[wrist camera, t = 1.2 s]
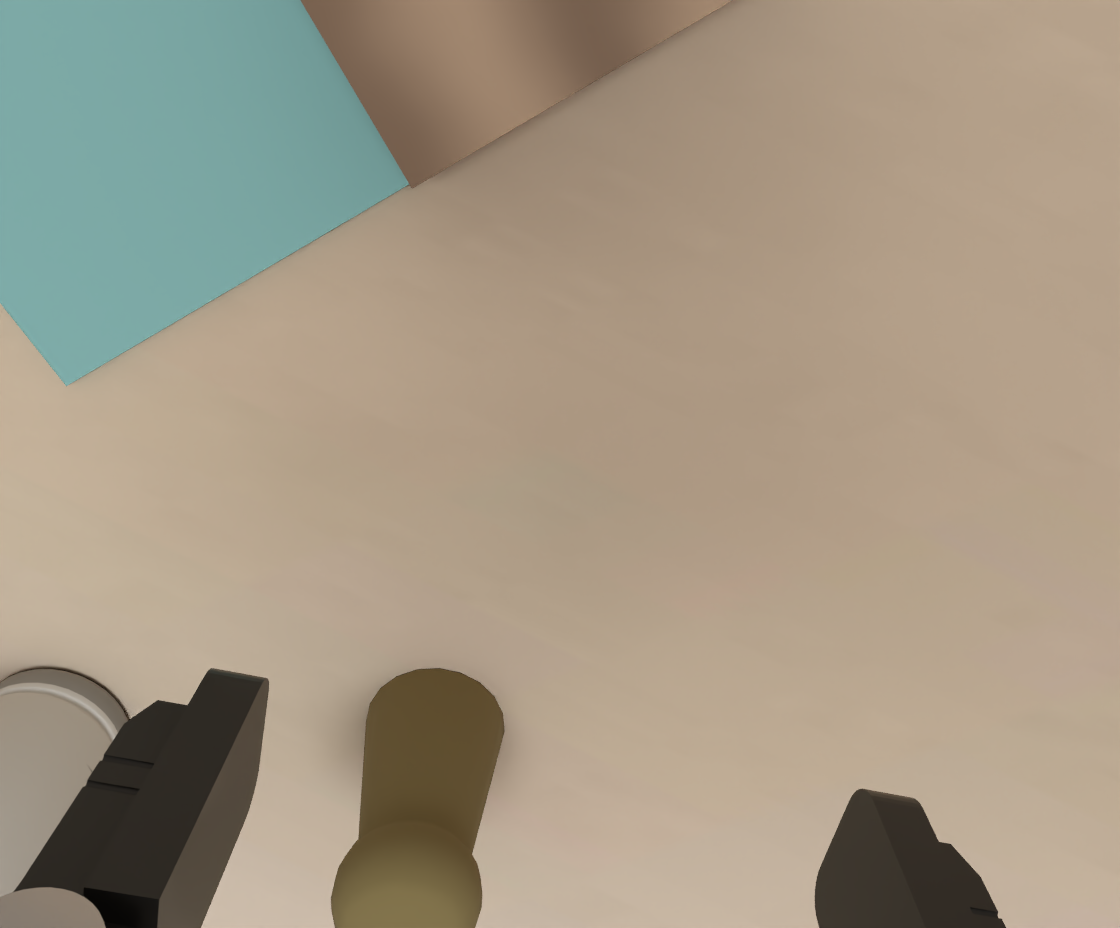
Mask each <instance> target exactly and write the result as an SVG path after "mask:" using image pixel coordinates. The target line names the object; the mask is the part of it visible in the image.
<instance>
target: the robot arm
mask: <svg viewBox="0 0 1120 928" xmlns="http://www.w3.org/2000/svg"><path fill="white" fill-rule="evenodd" d="M268 691H269V681H268V679H267V678H263V677H257V676H252V675H246V674H241V673H235V672H230V671H225V670H219V669H214V668H211V669H210V670H209V671H208V672H207V673H206V675H205V676H204V678H203V680H202V681H201V683H200V685H199V687H198V688H197V690H196V692H195V694H194V695H193V697H192V699H191V701H190V702H189V704H188V706H187V705H182V704H176V703H171V702H165V701H159V700H157V701H156V702H155V703H153V704H152V705H150V706H149V707H147V708H146V709H144V710H143V711H142V712H140V713H139V714H137V715H136V716H134V717H133V718H131V719H130V720H129V721H127V722H126V723H124V724H123V726H122V727H121V729H120V730H119V732H118V734H117V735H116V737H115V738H114V740H113V741H112V743H111V744H110V746H109V747H108V749H107V750H106V752H105V753H104V757H103V760H102V761H99V763H98V764H97V766H96V767H95V769H94V770H93V772H92V773H91V775H90V776H89V778H88V780H87V783H86V786H85V787H82V789H81V790H80V792H79V793H78V795H77V796H76V798H75V799H74V801H73V803H72V804H71V806H70V807H69V809H68V810H67V812H66V813H65V815H64V816H63V818H62V819H61V821H60V822H59V824H58V826H57V827H56V829H55V830H54V832H53V833H52V835H51V836H50V838H49V839H48V841H47V842H46V844H45V845H44V847H43V849H42V850H41V852H40V853H39V855H38V856H37V858H36V859H35V861H34V862H33V864H32V865H31V867H30V868H29V870H28V872H27V873H26V875H25V876H24V878H23V879H22V881H21V882H20V883H19V885H18V886H17V887H16V889H15V890H14V891H13V892H12V893H9V894H6V895H4V896H1V897H0V928H201V926H202V923H203V921H204V918H205V916H206V914H207V911H208V909H209V906H210V904H211V902H212V899H213V897H214V894H215V892H216V889H217V887H218V885H219V882H220V880H221V877H222V875H223V872H224V870H225V868H226V865H227V863H228V860H229V858H230V856H231V853H232V851H233V848H234V846H235V843H236V841H237V839H238V836H239V834H240V831H241V829H242V827H243V824H244V822H245V819H246V816H247V814H248V811H249V808H250V804H251V801H252V798H253V794H254V790H255V786H256V781H257V776H258V771H259V763H260V755H261V747H262V739H263V731H264V723H265V715H266V707H267V699H268ZM815 910H816V916H817V921H818V924H819V928H1006V927H1005V925H1004V923H1003V921H1002V919H999V918H998V916H997V914H998V911H997V909H996V907H995V905H994V903H993V901H992V899H991V897H990V895H989V893H988V891H987V889H986V887H985V885H984V883H983V881H982V879H981V877H980V876H979V875H978V874H977V873H976V872H975V870H974V869H973V868H972V867H971V866H970V865H969V864H968V863H967V862H966V860H965V859H964V858H963V857H962V856H961V855H960V854H959V853H958V852H957V851H956V849H955V848H954V847H953V846H952V845H951V844H947V843H942V842H939V841H938V839H937V837H936V835H935V833H934V831H933V829H932V827H931V825H930V822H929V820H928V818H927V816H926V814H925V812H924V810H923V808H922V806H921V804H920V803H919V802H918V801H917V800H916V799H914V798H910V797H905V796H899V795H894V794H888V793H883V792H877V791H872V790H866V789H859V790H857V791H856V792H855V793H854V794H853V795H852V797H851V799H850V801H849V803H848V805H847V807H846V810H845V812H844V814H843V817H842V819H841V821H840V823H839V826H838V828H837V830H836V833H835V835H834V837H833V839H832V842H831V844H830V846H829V848H828V851H827V853H826V855H825V858H824V860H823V862H822V864H821V867H820V869H819V872H818V876H817V881H816V888H815Z"/></svg>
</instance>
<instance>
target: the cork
mask: <svg viewBox="0 0 1120 928" xmlns="http://www.w3.org/2000/svg"><path fill="white" fill-rule="evenodd" d="M503 735H504V721H503V713H502V711H501V709H500V707H499V705H498V703H497V701H496V699H495V697H494V696H493V695H492V694H491V693H490V692H489V691H488V690H487V689H486V688H485V687H484V686H483V685H482V684H481V683H479V682H477V681H475V680H473V679H471V678H470V677H468V676H466V675H464V674H462V673H458V672H453V671H449V670H444V669H421V670H415V671H412V672H409V673H406V674H403V675H400V676H397V677H395V678H394V679H393V680H391V681H390V682H389V683H387V684H386V685H384V686H383V687H382V688H380V690H379V691H378V693H377V694H376V696H375V697H374V699H373V700H372V702H371V703H370V706H369V711H368V715H367V720H366V732H365V747H364V762H363V777H362V793H361V808H360V823H359V839H358V840H357V841H356V842H355V844H354V845H353V846H352V848H351V849H350V851H349V852H348V853H347V855H346V856H345V858H344V859H343V861H342V863H341V864H340V866H339V868H338V871H337V875H336V879H335V883H334V887H333V891H332V896H331V907H332V915H333V920H334V925H335V928H475V926H476V923H477V920H478V917H479V914H480V910H481V907H482V887H481V879H480V873H479V869H478V865H477V863H476V861H475V859H474V857H473V856H472V852H473V848H474V845H475V841H476V837H477V833H478V829H479V826H480V822H481V818H482V814H483V810H484V807H485V803H486V799H487V795H488V791H489V788H490V784H491V780H492V776H493V772H494V769H495V765H496V761H497V757H498V754H499V750H500V746H501V742H502V738H503Z"/></svg>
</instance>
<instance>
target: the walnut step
mask: <svg viewBox="0 0 1120 928" xmlns="http://www.w3.org/2000/svg"><path fill="white" fill-rule="evenodd" d="M300 1H301V2H302V4H303V6H304V7H305V9H306V11H307V12H308V14H309V16H310V17H311V19H312V21H313V22H314V24H315V26H316V28H317V29H318V31H319V33H320V34H321V36H322V38H323V39H324V41H325V43H326V44H327V46H328V48H329V49H330V51H331V53H332V55H333V56H334V58H335V60H336V61H337V63H338V65H339V66H340V68H341V70H342V71H343V73H344V75H345V76H346V78H347V80H348V82H349V83H350V85H351V87H352V88H353V90H354V92H355V93H356V95H357V97H358V98H359V100H360V102H361V103H362V105H363V107H364V109H365V110H366V112H367V114H368V115H369V117H370V119H371V120H372V122H373V124H374V125H375V127H376V129H377V130H378V132H379V134H380V136H381V137H382V139H383V141H384V142H385V144H386V146H387V147H388V149H389V151H390V152H391V154H392V156H393V157H394V159H395V161H396V163H397V164H398V166H399V168H400V169H401V171H402V173H403V174H404V176H405V178H406V179H407V181H408V183H409V184H410V186H411V188H414V187H416V186H417V185H419V184H421V183H422V182H424V181H426V180H427V179H429V178H431V177H433V176H434V175H436V174H438V173H439V172H441V171H443V170H444V169H446V168H448V167H450V166H451V165H453V164H455V163H456V162H458V161H460V160H462V159H463V158H465V157H467V156H468V155H470V154H472V153H473V152H475V151H477V150H479V149H480V148H482V147H484V146H485V145H487V144H489V143H490V142H492V141H494V140H496V139H497V138H499V137H501V136H502V135H504V134H506V133H508V132H509V131H511V130H513V129H514V128H516V127H518V126H519V125H521V124H523V123H525V122H526V121H528V120H530V119H531V118H533V117H535V116H536V115H538V114H540V113H542V112H543V111H545V110H547V109H548V108H550V107H552V106H553V105H555V104H557V103H559V102H560V101H562V100H564V99H565V98H567V97H569V96H571V95H572V94H574V93H576V92H577V91H579V90H581V89H582V88H584V87H586V86H588V85H589V84H591V83H593V82H594V81H596V80H598V79H599V78H601V77H603V76H605V75H606V74H608V73H610V72H611V71H613V70H615V69H617V68H618V67H620V66H622V65H623V64H625V63H627V62H628V61H630V60H632V59H634V58H635V57H637V56H639V55H640V54H642V53H644V52H645V51H647V50H649V49H651V48H652V47H654V46H656V45H657V44H659V43H661V42H663V41H664V40H666V39H668V38H669V37H671V36H673V35H674V34H676V33H678V32H680V31H681V30H683V29H685V28H686V27H688V26H690V25H691V24H693V23H695V22H697V21H698V20H700V19H702V18H703V17H705V16H707V15H709V14H710V13H712V12H714V11H715V10H717V9H719V8H720V7H722V6H724V5H726V4H727V3H729V2H731V1H732V0H300Z"/></svg>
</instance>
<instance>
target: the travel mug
mask: <svg viewBox="0 0 1120 928" xmlns="http://www.w3.org/2000/svg"><path fill="white" fill-rule="evenodd" d="M127 721H128V719H127V717H126V715H125V713H124V711H123V709H122V708H121V707H120V705H119V704H118V703H117V701H116V700H115V699H114V698H113V697H112V696H111V695H110V694H109V693H108V692H107V691H106V690H104V689H103V688H102V687H100V686H99V685H97V684H96V683H94V682H92V681H90V680H88V679H86V678H84V677H82V676H80V675H76V674H73V673H70V672H67V671H61V670H54V669H35V670H30V671H24V672H20V673H18V674H15V675H12V676H10V677H8V678H6V679H5V680H3V681H2V682H0V897H1V896H4V895H6V894H9V893H12V892H13V891H14V890H15V889H16V887H17V886H18V885H19V883H20V882H21V881H22V879H23V878H24V876H25V875H26V873H27V872H28V870H29V868H30V867H31V865H32V864H33V862H34V861H35V859H36V858H37V856H38V855H39V853H40V852H41V850H42V849H43V847H44V845H45V844H46V842H47V841H48V839H49V838H50V836H51V835H52V833H53V832H54V830H55V829H56V827H57V826H58V824H59V822H60V821H61V819H62V818H63V816H64V815H65V813H66V812H67V810H68V809H69V807H70V806H71V804H72V803H73V801H74V799H75V798H76V796H77V795H78V793H79V792H80V790H81V789H82V787H85V786H86V783H87V780H88V778H89V776H90V775H91V773H92V772H93V770H94V769H95V767H96V766H97V764H98V763H99V761H102V760H103V757H104V753H105V752H106V750H107V749H108V747H109V746H110V744H111V743H112V741H113V740H114V738H115V737H116V735H117V734H118V732H119V730H120V729H121V727H122V726H123V724H124V723H126V722H127Z"/></svg>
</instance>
